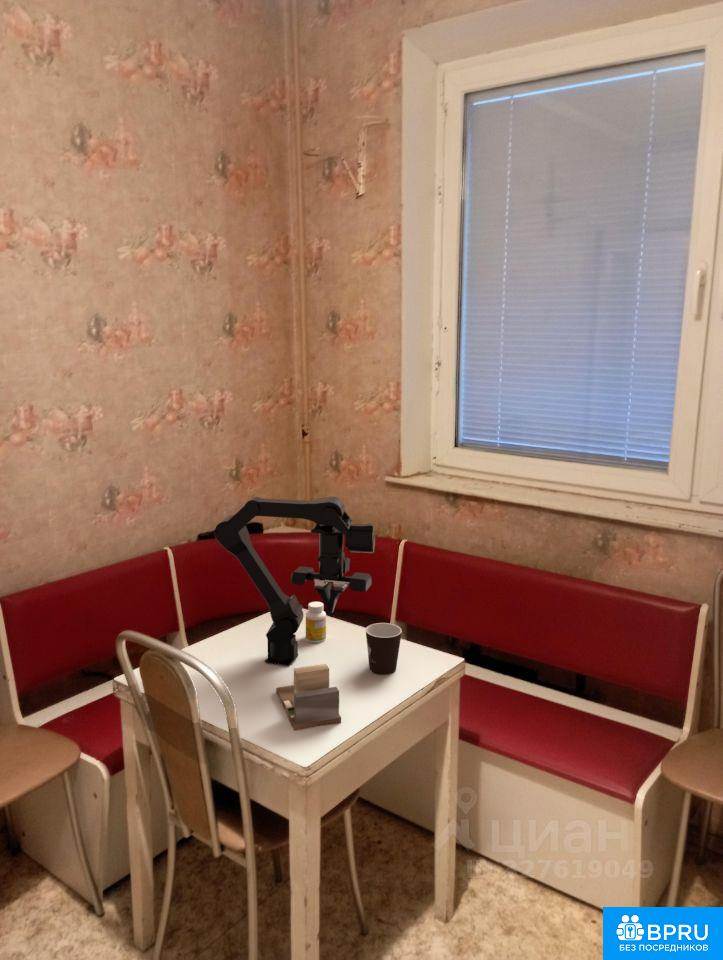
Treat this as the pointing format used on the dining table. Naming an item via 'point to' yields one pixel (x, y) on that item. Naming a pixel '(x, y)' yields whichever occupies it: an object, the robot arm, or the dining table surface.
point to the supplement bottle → (315, 623)
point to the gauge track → (310, 706)
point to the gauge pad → (310, 678)
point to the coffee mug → (383, 647)
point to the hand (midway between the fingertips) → (330, 612)
